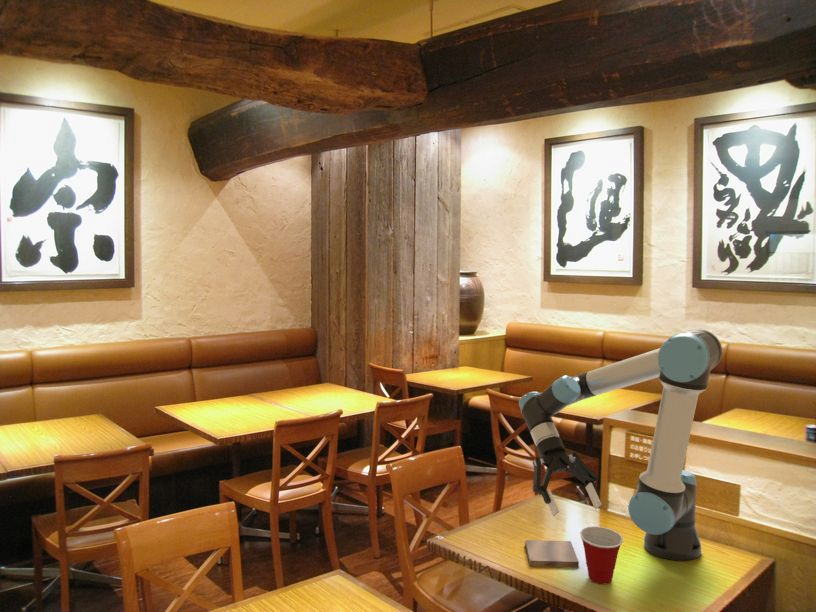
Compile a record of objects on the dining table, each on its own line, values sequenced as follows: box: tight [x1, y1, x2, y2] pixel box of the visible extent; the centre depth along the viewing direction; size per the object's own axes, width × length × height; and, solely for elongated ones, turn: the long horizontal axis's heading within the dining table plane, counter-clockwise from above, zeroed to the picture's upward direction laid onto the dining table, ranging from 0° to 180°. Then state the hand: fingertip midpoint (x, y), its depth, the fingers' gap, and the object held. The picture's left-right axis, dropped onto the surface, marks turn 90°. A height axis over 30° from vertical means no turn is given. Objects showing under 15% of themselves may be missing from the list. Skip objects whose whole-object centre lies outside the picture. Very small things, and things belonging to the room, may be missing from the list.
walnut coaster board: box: [524, 539, 580, 568], centre depth 189 cm, size 13×13×2 cm
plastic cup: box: [579, 526, 624, 585], centre depth 175 cm, size 11×11×12 cm
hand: (577, 510), depth 183 cm, fingers open, 13 cm apart
